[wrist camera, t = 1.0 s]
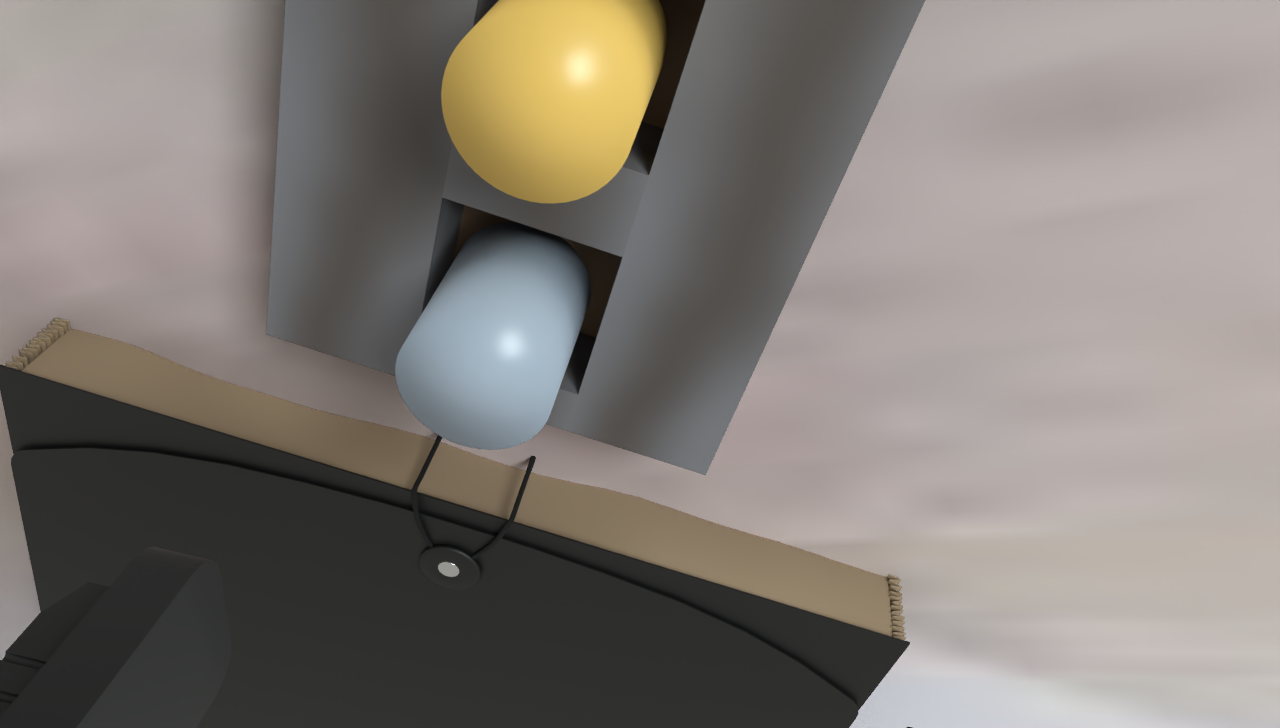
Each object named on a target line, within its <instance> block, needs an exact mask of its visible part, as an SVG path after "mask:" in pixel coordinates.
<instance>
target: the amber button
mask: <svg viewBox="0 0 1280 728" xmlns="http://www.w3.org/2000/svg"><path fill="white" fill-rule="evenodd" d="M667 44H668V32H667V24H666V18H665V15H664V12H663V8H662V6H661V3H660V1H659V0H498V2H497V3H496V4H495V5H494V6H493V7H492V8H491V9H490V10H489V11H488V12H487V13H486V14H485V15H484V17H483V18H482V19H481V20H480V21H479V22H478V23H477V24H476V25H475V26H474V27H473V28H472V29H471V30H470V31H469V33H468V34H467V35H466V36H465V37H464V38H463V39H462V40H461V42H460V43H459V44H458V45H457V47H456V48H455V50H454V51H453V53H452V55H451V57H450V58H449V61H448V64H447V66H446V69H445V72H444V76H443V81H442V90H441V101H442V111H443V116H444V121H445V124H446V127H447V130H448V133H449V135H450V137H451V140H452V142H453V144H454V145H455V147H456V149H457V150H458V152H459V154H460V155H461V156H462V158H463V159H464V160H465V162H466V163H467V164H468V165H469V166H470V167H471V168H472V169H473V171H474V172H475V173H477V174H478V175H479V176H480V177H481V178H482V179H484V180H485V181H486V182H488V183H489V184H491V185H492V186H493V187H495V188H497V189H499V190H500V191H502V192H504V193H506V194H508V195H511V196H514V197H516V198H519V199H523V200H526V201H530V202H537V203H552V204H554V203H565V202H570V201H574V200H578V199H581V198H583V197H586V196H588V195H590V194H592V193H594V192H596V191H598V190H599V189H600V188H602V187H603V186H605V185H606V184H607V183H608V182H609V181H610V180H611V179H612V178H613V177H614V176H615V175H616V174H617V173H618V172H619V170H620V169H621V168H622V166H623V164H624V163H625V161H626V159H627V157H628V155H629V153H630V150H631V147H632V145H633V142H634V140H635V137H636V134H637V132H638V129H639V127H640V124H641V121H642V119H643V116H644V114H645V111H646V108H647V106H648V103H649V101H650V98H651V95H652V93H653V90H654V88H655V85H656V82H657V80H658V77H659V75H660V72H661V69H662V67H663V64H664V61H665V57H666V53H667Z"/></svg>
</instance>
